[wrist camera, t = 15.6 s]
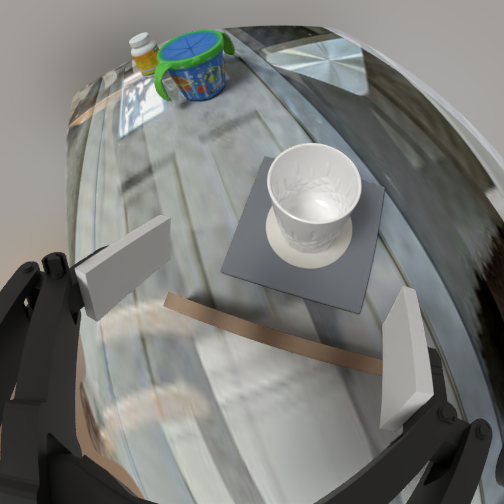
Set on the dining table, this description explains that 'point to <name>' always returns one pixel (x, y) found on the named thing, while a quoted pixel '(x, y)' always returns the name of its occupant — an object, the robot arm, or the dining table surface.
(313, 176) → the white cup
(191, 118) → the dining table surface
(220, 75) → the snack cup
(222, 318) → the low wall
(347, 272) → the slate mat
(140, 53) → the supplement bottle
